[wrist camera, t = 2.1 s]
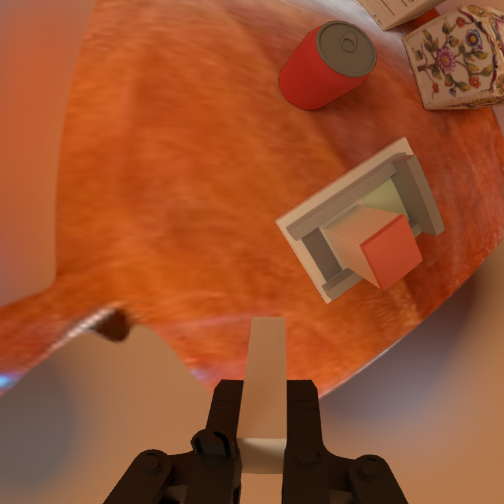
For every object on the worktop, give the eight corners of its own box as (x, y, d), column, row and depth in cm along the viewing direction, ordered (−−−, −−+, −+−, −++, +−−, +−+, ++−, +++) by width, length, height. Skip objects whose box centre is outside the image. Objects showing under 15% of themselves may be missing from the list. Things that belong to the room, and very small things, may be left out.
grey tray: (323, 300, 37) (343, 321, 32) (273, 220, 34) (287, 228, 28) (433, 215, 37) (463, 222, 31) (399, 137, 34) (429, 133, 28)
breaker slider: (341, 263, 35) (384, 291, 26) (322, 228, 34) (363, 247, 24) (373, 240, 35) (423, 260, 26) (356, 204, 34) (405, 215, 24)
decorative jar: (471, 111, 35) (559, 101, 17) (423, 112, 34) (524, 94, 16) (450, 42, 32) (529, 14, 14) (398, 35, 31) (483, -12, 13)
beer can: (337, 75, 31) (388, 40, 20) (321, 120, 32) (372, 96, 21) (288, 52, 30) (322, 3, 18) (268, 97, 31) (299, 58, 19)
